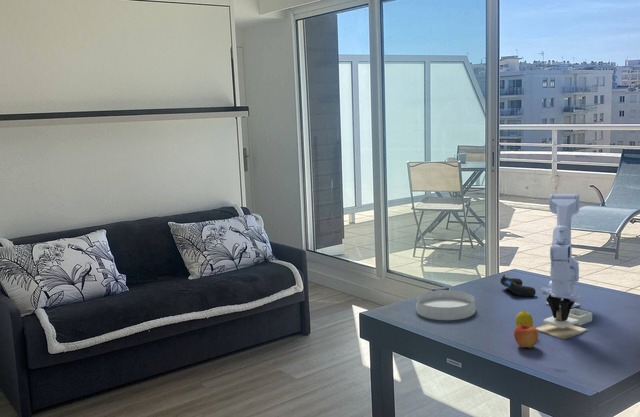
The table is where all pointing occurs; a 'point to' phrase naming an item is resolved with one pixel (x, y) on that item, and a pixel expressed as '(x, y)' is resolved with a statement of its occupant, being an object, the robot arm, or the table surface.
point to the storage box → (580, 316)
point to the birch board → (561, 331)
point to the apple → (526, 335)
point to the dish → (445, 305)
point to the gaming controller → (517, 286)
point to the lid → (560, 320)
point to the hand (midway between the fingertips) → (560, 318)
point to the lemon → (524, 319)
